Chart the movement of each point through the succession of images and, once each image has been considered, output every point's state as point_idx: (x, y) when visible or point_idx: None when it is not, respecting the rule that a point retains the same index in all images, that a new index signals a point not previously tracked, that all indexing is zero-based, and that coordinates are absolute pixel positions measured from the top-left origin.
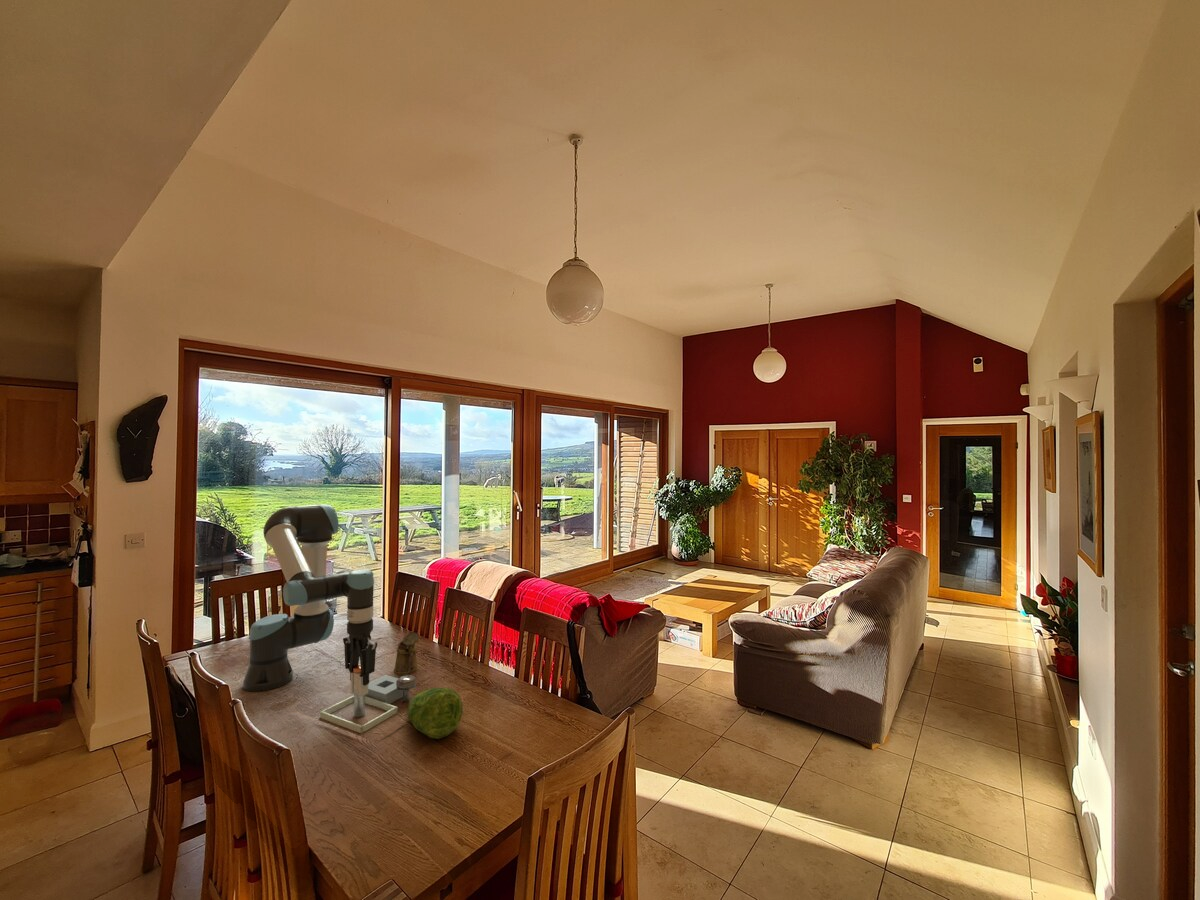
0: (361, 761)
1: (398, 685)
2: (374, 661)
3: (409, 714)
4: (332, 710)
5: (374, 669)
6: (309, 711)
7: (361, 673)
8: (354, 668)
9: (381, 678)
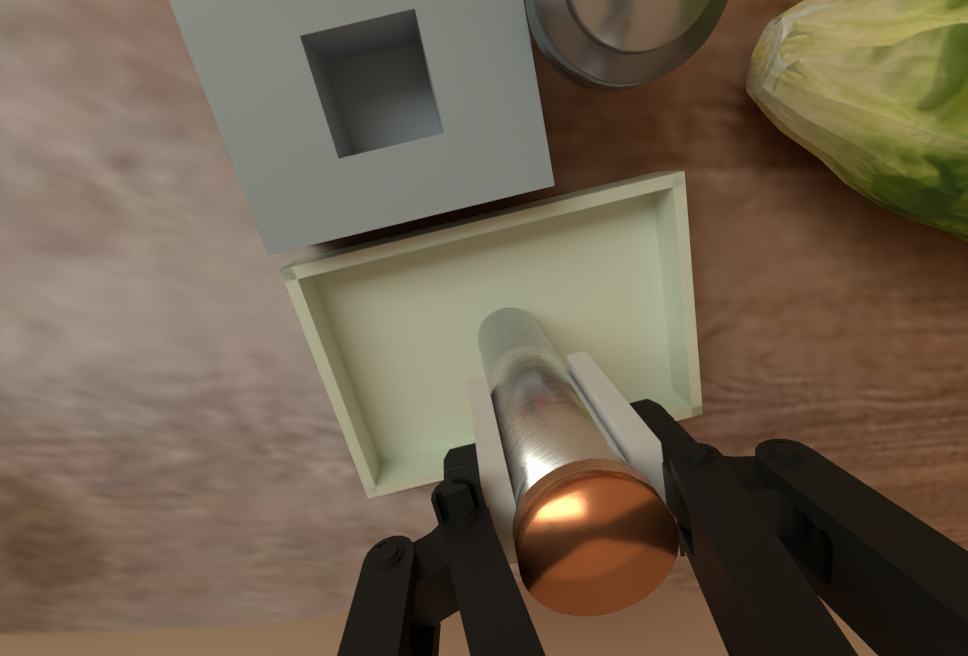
0: (833, 457)
1: (635, 83)
2: (952, 553)
3: (965, 235)
4: (360, 426)
5: (823, 458)
6: (228, 474)
7: (682, 539)
8: (572, 603)
9: (228, 46)
